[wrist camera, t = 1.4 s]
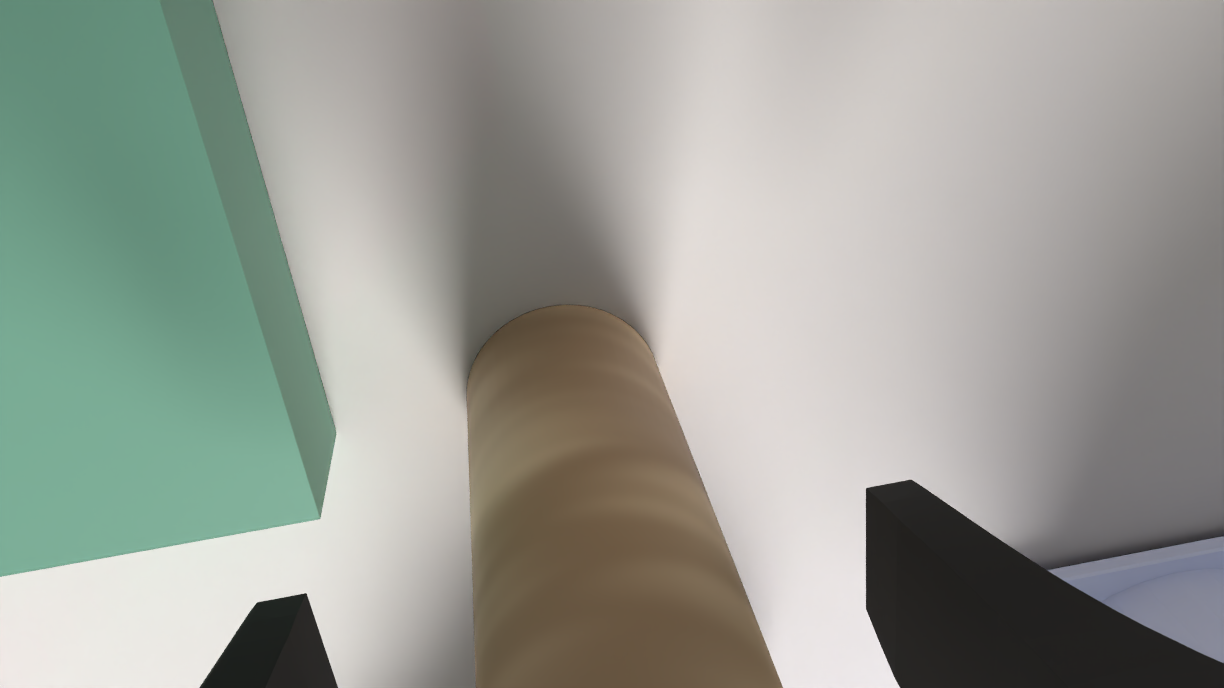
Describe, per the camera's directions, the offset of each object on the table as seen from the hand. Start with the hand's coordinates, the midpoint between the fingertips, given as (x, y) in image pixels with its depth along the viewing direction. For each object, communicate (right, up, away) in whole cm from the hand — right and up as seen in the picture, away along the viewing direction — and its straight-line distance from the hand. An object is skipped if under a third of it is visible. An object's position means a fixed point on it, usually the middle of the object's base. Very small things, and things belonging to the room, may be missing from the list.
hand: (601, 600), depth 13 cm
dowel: (-1, +2, +5) cm, 6 cm away
